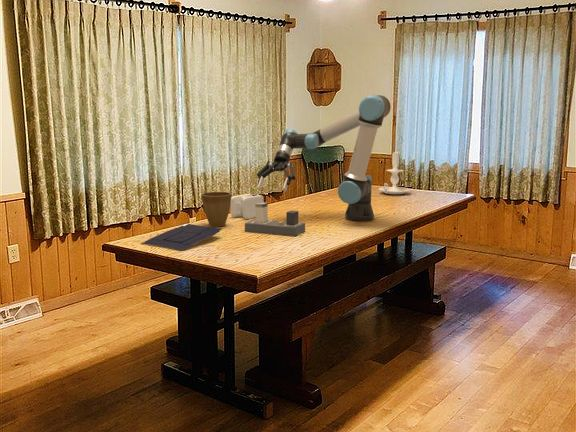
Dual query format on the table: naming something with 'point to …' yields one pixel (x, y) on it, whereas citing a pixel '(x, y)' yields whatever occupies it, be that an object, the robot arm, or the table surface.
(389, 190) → the candlestick
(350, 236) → the table surface
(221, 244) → the table surface
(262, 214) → the plug
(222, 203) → the plant pot
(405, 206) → the table surface
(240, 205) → the white lumpy block
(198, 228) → the dark blue folded cloth
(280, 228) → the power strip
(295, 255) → the table surface
